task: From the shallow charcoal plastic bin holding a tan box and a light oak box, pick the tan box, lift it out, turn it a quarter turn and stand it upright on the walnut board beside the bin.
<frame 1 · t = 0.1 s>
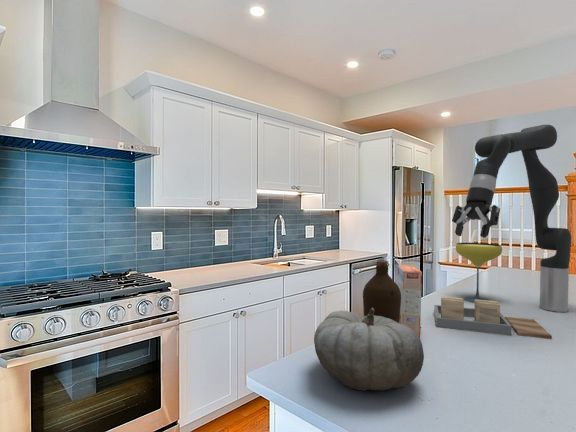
hand: (470, 236, 113), 31 cm above the counter, fingers open, 8 cm apart
tan box: (486, 324, 121), resting in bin
gourd: (363, 378, 81), on the counter
cocktail glass: (477, 300, 154), on the counter
olive oil: (380, 348, 99), on the counter
cracker box: (408, 331, 114), on the counter
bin: (468, 322, 123), on the counter
plain box: (451, 321, 125), resting in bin
board: (526, 328, 117), on the counter
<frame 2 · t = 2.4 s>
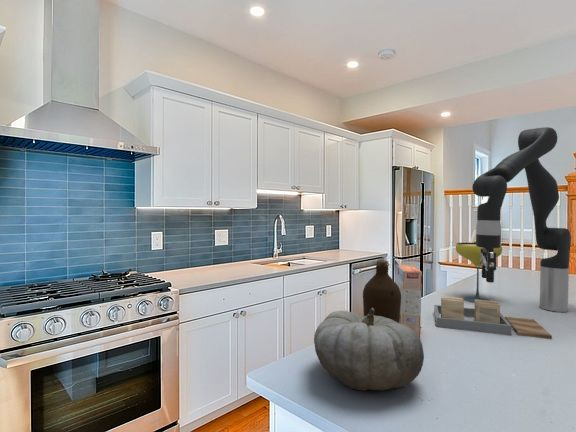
hand: (487, 280, 120), 16 cm above the counter, fingers open, 8 cm apart
nothing on the counter moved.
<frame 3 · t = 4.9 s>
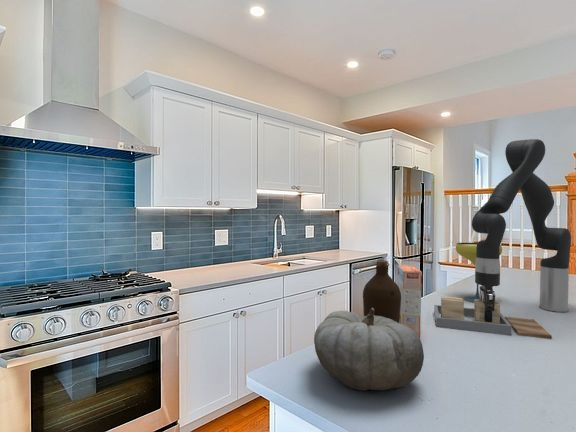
hand: (486, 319, 121), 2 cm above the counter, fingers closed on tan box, 5 cm apart
tan box: (486, 324, 121), resting in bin, touching gripper
everything else where it was.
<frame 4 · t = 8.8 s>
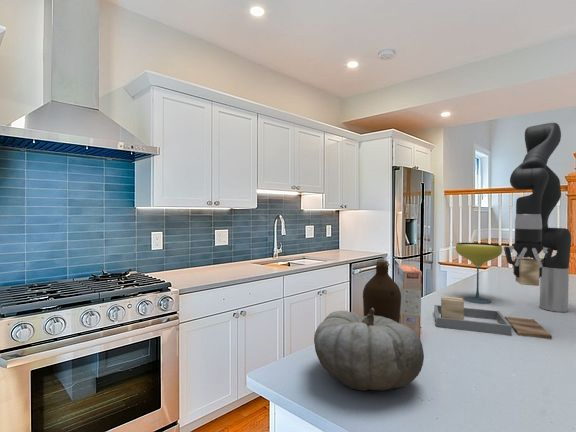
hand: (527, 277, 117), 17 cm above the counter, fingers closed on tan box, 5 cm apart
tan box: (526, 283, 117), point 15 cm above the counter, touching gripper
everything else where it was.
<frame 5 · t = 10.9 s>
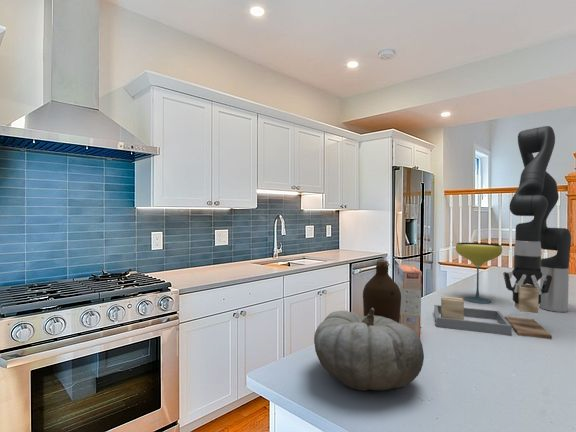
hand: (526, 303, 117), 8 cm above the counter, fingers closed on tan box, 5 cm apart
tan box: (526, 309, 117), point 6 cm above the counter, touching gripper
everything else where it was.
when the fingers open (4 cm above the counter, at t = 13.0 s): tan box stays where it is, resting on board.
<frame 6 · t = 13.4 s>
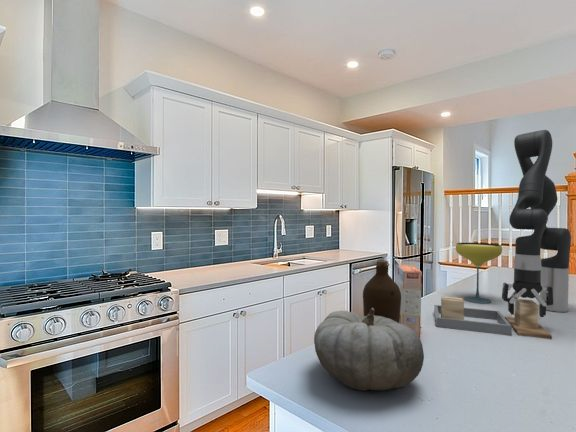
hand: (526, 315, 117), 4 cm above the counter, fingers open, 8 cm apart
tan box: (525, 325, 117), point 1 cm above the counter, touching board
everything else where it was.
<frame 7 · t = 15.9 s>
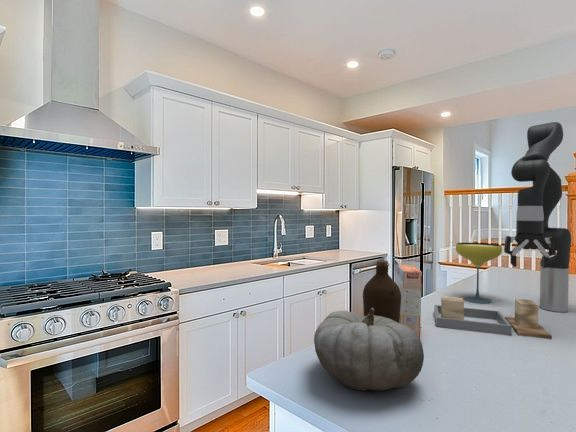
hand: (529, 267, 117), 21 cm above the counter, fingers open, 8 cm apart
nothing on the counter moved.
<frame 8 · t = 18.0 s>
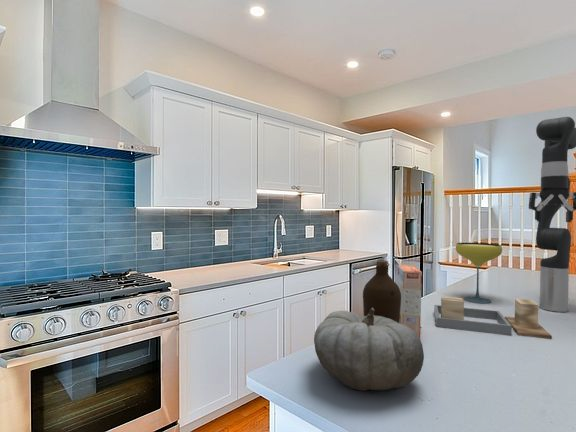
hand: (553, 221, 121), 36 cm above the counter, fingers open, 8 cm apart
nothing on the counter moved.
at the end: tan box 0.1 cm off-centre on the board, point 1.0 cm above the board's base; tan box tilted 0°; the gripper is holding nothing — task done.
